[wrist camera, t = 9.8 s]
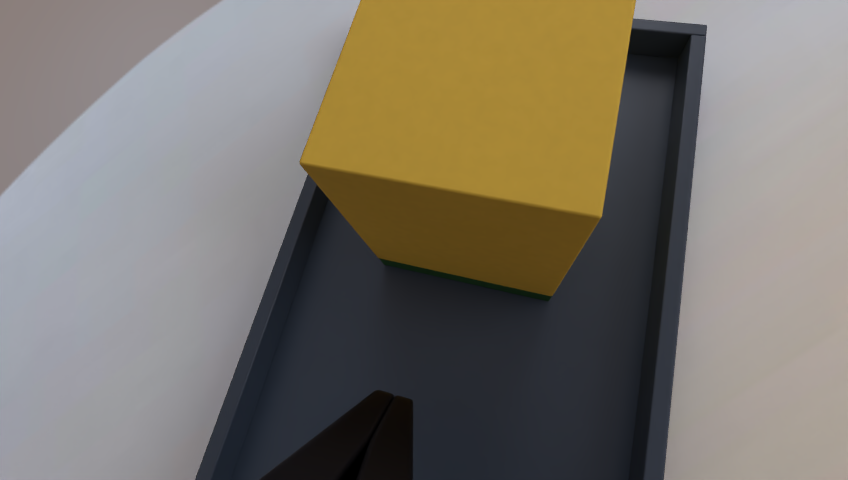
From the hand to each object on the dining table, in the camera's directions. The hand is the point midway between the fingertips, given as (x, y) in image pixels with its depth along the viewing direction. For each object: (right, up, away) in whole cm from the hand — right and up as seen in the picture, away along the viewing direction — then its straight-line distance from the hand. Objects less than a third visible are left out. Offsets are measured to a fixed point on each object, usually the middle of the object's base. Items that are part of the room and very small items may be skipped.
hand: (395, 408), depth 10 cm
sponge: (+3, +6, +10) cm, 12 cm away
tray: (+2, +2, +9) cm, 10 cm away
